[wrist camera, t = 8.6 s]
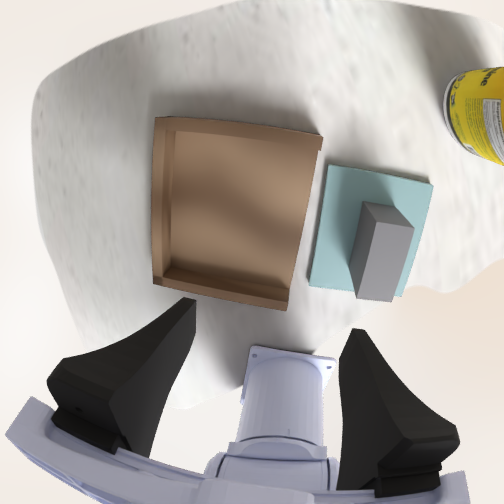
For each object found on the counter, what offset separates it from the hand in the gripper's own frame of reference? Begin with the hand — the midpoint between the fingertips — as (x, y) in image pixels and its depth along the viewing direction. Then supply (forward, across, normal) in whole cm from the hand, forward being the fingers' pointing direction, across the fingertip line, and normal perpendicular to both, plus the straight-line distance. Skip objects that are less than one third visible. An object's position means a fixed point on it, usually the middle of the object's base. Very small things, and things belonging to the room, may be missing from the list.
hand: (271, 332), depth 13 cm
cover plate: (+10, -6, -2) cm, 12 cm away
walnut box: (+9, +4, -2) cm, 10 cm away
